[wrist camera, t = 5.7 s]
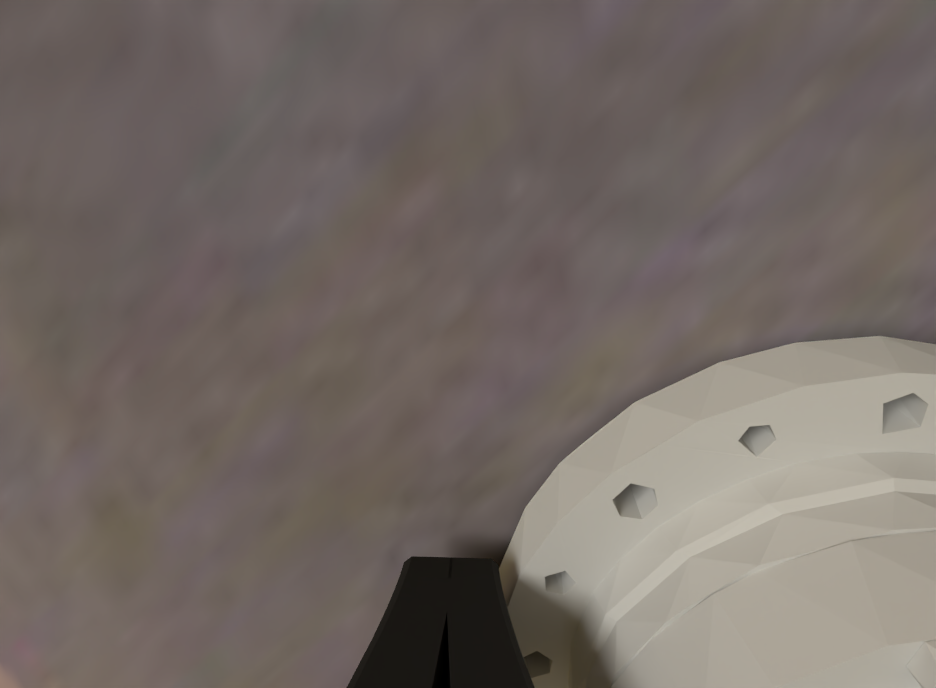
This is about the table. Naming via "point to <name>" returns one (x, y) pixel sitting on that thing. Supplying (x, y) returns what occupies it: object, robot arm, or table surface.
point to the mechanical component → (743, 531)
